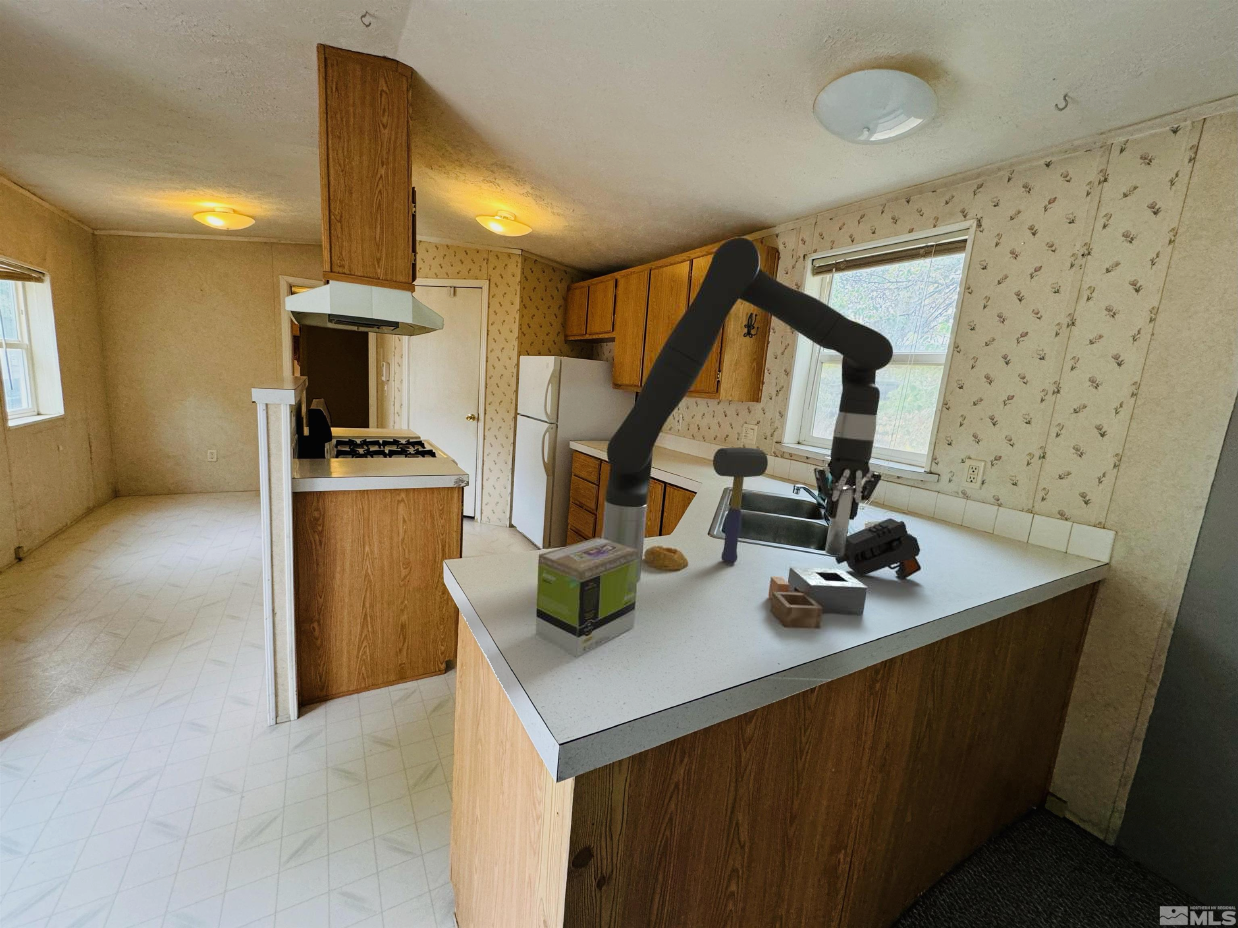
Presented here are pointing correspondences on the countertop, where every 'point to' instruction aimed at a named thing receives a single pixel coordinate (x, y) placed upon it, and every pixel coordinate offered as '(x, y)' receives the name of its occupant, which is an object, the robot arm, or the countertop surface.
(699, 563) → the countertop surface
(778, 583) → the drift key
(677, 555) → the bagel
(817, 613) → the open wooden box
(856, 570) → the black toy pistol
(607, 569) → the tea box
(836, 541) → the tall gray stick
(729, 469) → the rubber mallet
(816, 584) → the socket
